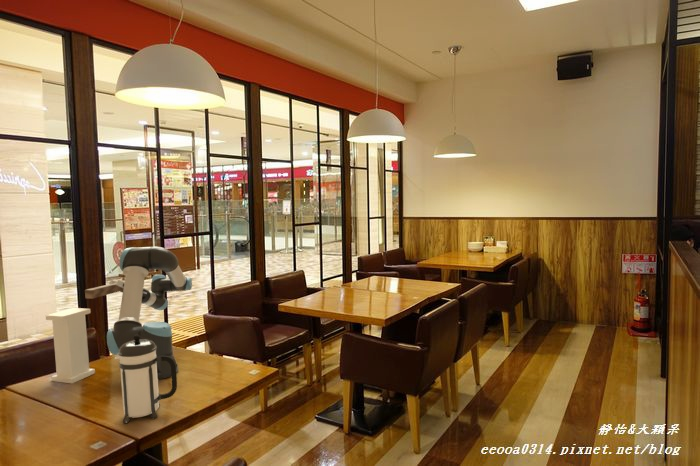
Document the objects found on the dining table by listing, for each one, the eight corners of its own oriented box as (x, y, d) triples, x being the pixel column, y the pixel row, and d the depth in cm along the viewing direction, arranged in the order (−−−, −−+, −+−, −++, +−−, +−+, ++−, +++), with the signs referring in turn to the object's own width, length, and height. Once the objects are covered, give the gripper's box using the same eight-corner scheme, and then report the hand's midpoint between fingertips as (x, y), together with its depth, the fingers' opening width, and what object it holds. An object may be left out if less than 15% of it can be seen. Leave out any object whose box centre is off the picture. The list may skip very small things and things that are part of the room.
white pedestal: (69, 384, 200) (64, 316, 198) (49, 381, 204) (43, 315, 202) (96, 372, 213) (91, 308, 211) (77, 370, 217) (72, 307, 215)
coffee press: (137, 429, 158) (131, 343, 155) (110, 418, 166) (104, 337, 164) (179, 409, 172) (175, 330, 170) (153, 400, 181) (148, 325, 179)
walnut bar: (92, 298, 216) (91, 290, 215) (85, 298, 217) (84, 289, 217) (131, 288, 238) (130, 280, 238) (124, 288, 240) (124, 280, 239)
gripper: (134, 289, 255) (103, 275, 235) (160, 290, 249) (129, 275, 229) (130, 302, 252) (98, 289, 232) (155, 304, 246) (125, 290, 226)
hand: (114, 282), depth 230 cm, fingers closed on walnut bar, 4 cm apart
